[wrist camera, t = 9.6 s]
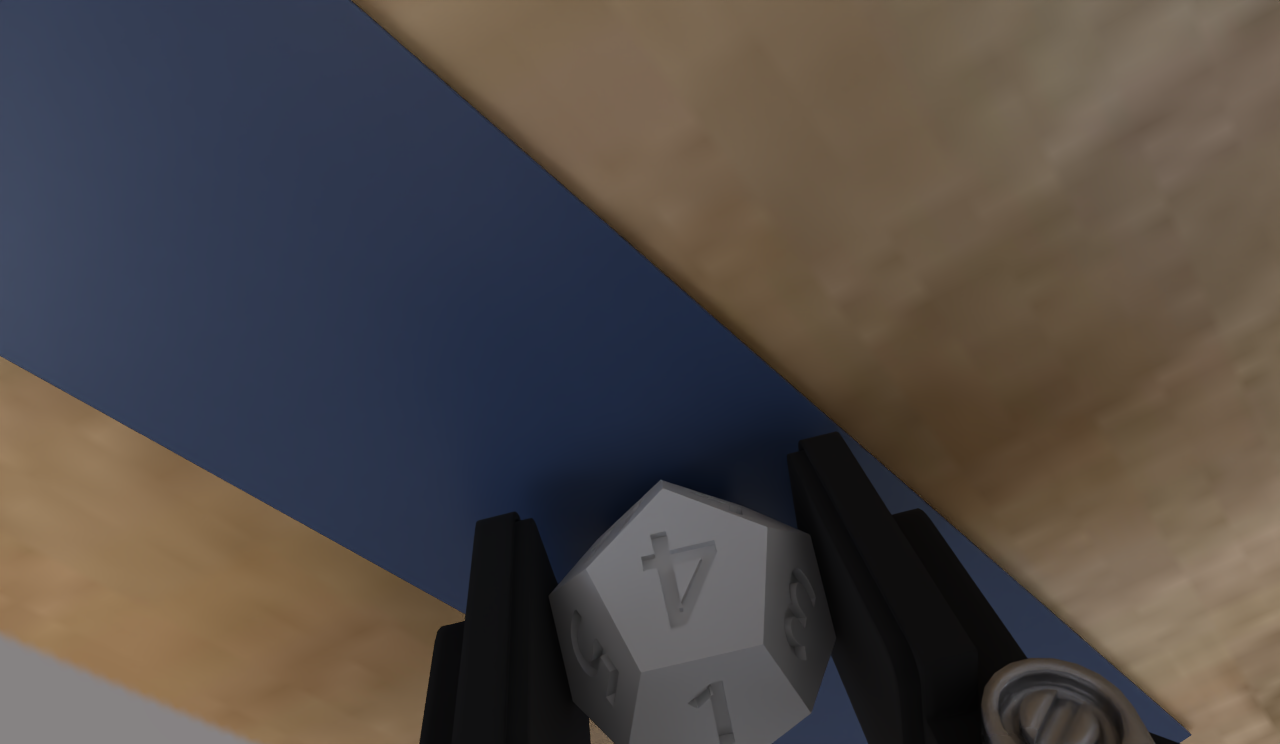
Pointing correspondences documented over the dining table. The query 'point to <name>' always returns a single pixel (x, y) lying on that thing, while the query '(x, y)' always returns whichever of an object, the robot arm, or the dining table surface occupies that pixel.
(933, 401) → the dining table surface
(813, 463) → the robot arm
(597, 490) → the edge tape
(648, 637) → the game die
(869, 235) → the dining table surface
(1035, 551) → the dining table surface
